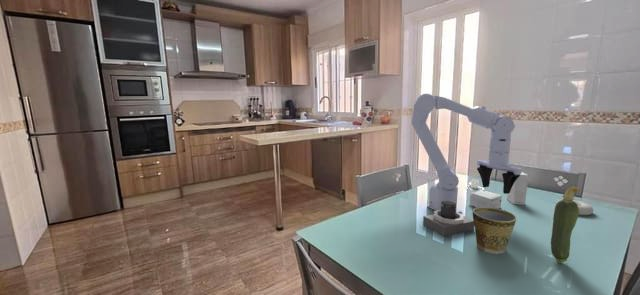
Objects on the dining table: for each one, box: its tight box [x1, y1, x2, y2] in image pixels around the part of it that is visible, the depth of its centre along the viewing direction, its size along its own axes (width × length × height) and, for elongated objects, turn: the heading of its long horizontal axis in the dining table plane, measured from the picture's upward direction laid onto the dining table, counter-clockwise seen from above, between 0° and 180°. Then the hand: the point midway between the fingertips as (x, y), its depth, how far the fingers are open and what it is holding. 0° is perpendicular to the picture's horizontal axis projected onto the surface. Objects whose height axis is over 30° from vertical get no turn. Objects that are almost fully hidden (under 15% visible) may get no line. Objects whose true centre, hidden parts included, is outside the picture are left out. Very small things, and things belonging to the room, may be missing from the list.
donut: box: [555, 199, 594, 216], centre depth 99 cm, size 10×3×10 cm
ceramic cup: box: [472, 207, 517, 255], centre depth 76 cm, size 13×10×10 cm
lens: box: [441, 201, 456, 219], centre depth 87 cm, size 4×4×5 cm
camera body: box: [422, 210, 475, 238], centre depth 88 cm, size 9×12×4 cm
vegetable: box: [550, 185, 580, 265], centre depth 67 cm, size 4×4×20 cm
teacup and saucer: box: [464, 179, 485, 192], centre depth 127 cm, size 9×8×4 cm
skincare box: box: [506, 171, 529, 206], centre depth 108 cm, size 6×4×12 cm
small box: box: [469, 189, 503, 209], centre depth 105 cm, size 8×8×5 cm
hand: (495, 189), depth 95 cm, fingers open, 7 cm apart
